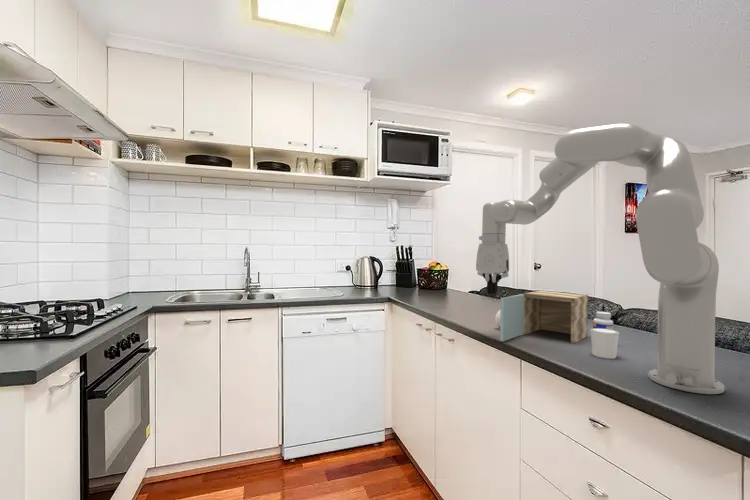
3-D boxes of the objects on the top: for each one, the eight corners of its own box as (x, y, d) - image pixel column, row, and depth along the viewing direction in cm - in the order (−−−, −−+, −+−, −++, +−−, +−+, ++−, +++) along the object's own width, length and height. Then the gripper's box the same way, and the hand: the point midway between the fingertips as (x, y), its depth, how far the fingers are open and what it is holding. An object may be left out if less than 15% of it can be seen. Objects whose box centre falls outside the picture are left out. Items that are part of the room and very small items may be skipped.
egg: (491, 329, 130) (492, 308, 130) (500, 327, 134) (500, 307, 134) (507, 332, 125) (507, 310, 125) (515, 329, 129) (516, 309, 129)
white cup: (624, 357, 97) (625, 332, 97) (607, 360, 94) (608, 334, 94) (600, 350, 103) (601, 327, 103) (584, 353, 101) (584, 328, 101)
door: (495, 339, 112) (496, 297, 112) (517, 332, 123) (517, 293, 123) (503, 341, 111) (503, 298, 111) (523, 333, 121) (524, 294, 121)
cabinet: (573, 343, 111) (574, 298, 111) (523, 334, 122) (523, 293, 122) (587, 336, 120) (587, 294, 120) (539, 328, 132) (539, 290, 132)
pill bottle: (588, 341, 114) (589, 311, 114) (601, 340, 115) (601, 310, 115) (604, 345, 108) (604, 314, 108) (617, 344, 110) (617, 313, 110)
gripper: (468, 239, 122) (466, 292, 122) (509, 239, 111) (508, 297, 111) (479, 239, 127) (478, 290, 127) (520, 240, 116) (518, 295, 116)
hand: (492, 293), depth 119 cm, fingers closed
